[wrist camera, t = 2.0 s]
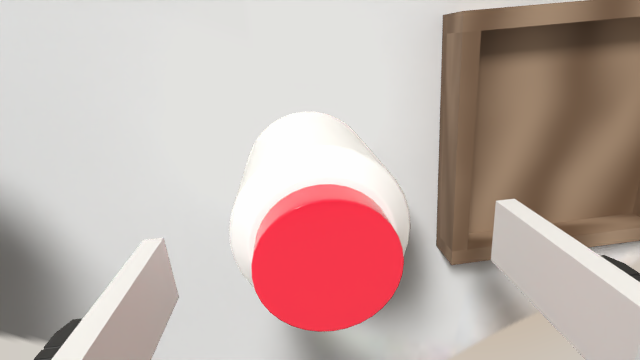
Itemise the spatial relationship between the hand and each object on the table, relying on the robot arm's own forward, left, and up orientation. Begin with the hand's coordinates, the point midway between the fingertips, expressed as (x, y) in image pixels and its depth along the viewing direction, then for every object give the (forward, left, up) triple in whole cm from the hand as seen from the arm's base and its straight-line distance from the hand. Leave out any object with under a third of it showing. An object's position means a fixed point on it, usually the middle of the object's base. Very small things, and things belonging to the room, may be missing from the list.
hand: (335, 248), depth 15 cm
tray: (+16, +1, -9) cm, 18 cm away
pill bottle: (0, 0, -10) cm, 10 cm away
